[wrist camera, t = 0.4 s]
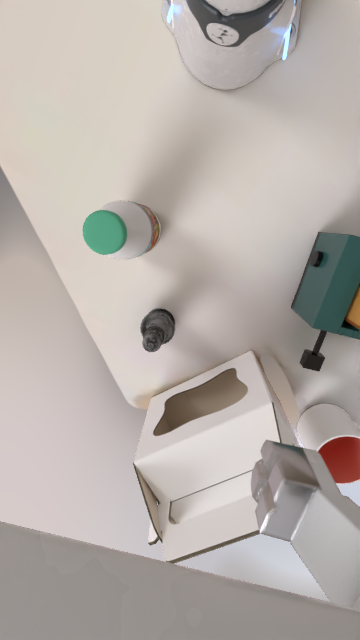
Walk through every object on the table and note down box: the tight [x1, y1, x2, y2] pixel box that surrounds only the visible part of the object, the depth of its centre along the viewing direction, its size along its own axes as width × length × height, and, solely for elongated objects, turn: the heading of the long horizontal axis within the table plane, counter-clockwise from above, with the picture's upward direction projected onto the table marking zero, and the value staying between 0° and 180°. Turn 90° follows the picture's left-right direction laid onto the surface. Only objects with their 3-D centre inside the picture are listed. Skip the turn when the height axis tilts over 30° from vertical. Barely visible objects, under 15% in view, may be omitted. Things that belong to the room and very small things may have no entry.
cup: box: [297, 404, 360, 484], centre depth 56 cm, size 10×10×10 cm
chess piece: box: [140, 309, 175, 352], centre depth 51 cm, size 6×6×12 cm
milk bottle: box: [83, 200, 161, 260], centre depth 42 cm, size 8×8×20 cm
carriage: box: [300, 330, 327, 371], centre depth 50 cm, size 20×3×2 cm, turn 166°
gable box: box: [133, 351, 300, 564], centre depth 47 cm, size 22×13×28 cm, turn 120°
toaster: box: [291, 232, 360, 340], centre depth 47 cm, size 13×11×11 cm
